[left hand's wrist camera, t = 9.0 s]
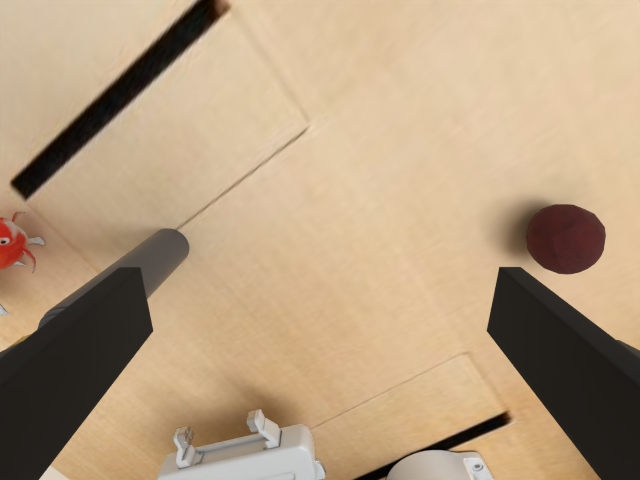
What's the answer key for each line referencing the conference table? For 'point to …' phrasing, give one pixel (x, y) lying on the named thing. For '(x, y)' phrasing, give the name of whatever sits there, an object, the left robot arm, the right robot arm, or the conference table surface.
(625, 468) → the left robot arm
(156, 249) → the bottle
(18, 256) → the fish
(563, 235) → the dark red ball
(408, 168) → the conference table surface
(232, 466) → the right robot arm
